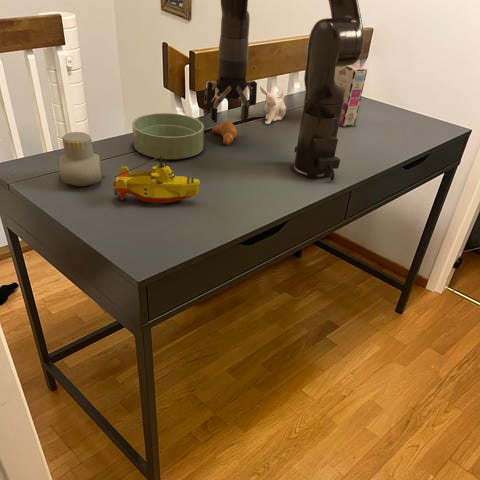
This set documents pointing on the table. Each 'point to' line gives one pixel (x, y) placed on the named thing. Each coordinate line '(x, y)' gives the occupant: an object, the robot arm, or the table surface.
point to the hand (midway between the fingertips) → (229, 121)
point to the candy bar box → (350, 91)
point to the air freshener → (79, 160)
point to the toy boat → (155, 184)
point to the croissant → (226, 131)
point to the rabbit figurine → (274, 105)
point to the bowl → (168, 135)
